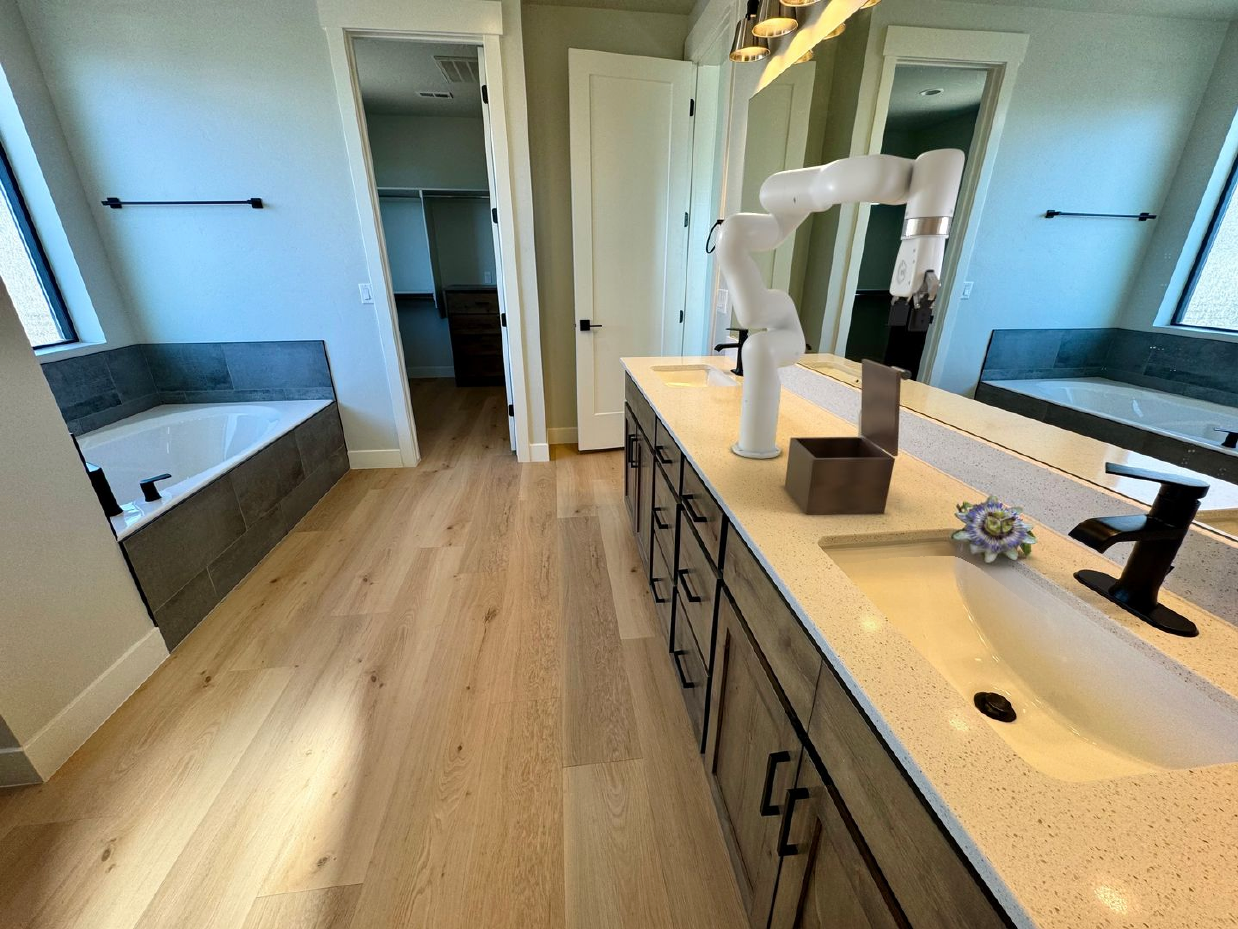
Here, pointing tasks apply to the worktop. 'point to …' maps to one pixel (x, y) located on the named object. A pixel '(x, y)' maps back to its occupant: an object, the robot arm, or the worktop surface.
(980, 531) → the passion flower
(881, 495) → the chest
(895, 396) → the lid
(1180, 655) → the worktop surface
